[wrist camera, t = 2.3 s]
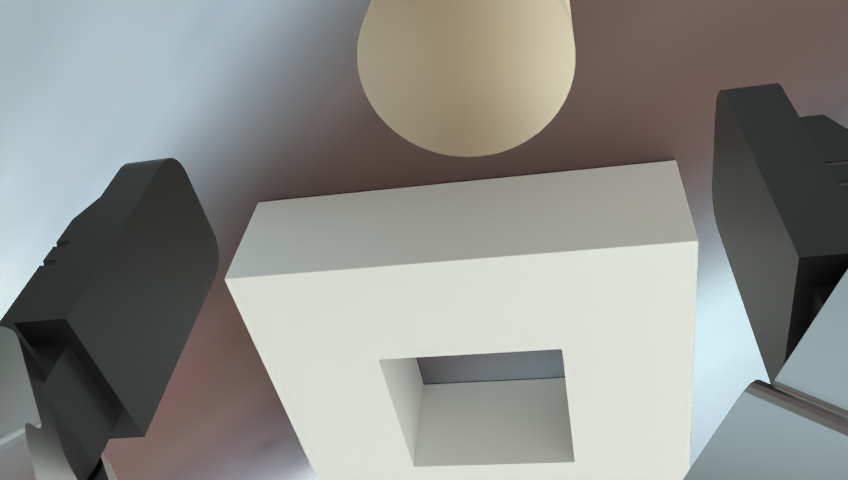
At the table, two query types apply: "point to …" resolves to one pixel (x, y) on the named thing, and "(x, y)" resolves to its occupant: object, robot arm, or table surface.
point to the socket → (481, 324)
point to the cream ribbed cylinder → (467, 70)
